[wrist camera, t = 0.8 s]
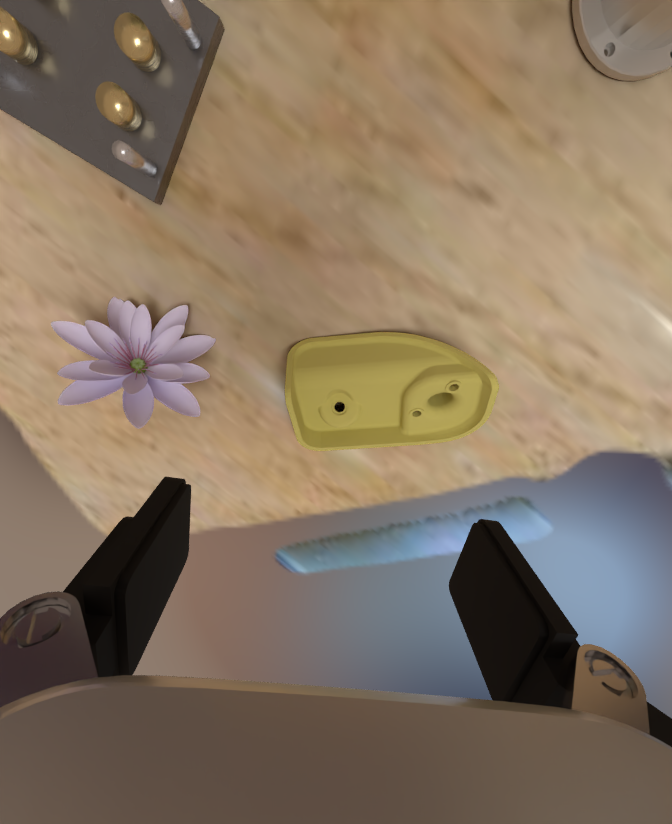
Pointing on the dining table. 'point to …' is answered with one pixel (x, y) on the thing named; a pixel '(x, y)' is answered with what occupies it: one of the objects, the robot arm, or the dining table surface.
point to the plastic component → (384, 391)
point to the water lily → (135, 360)
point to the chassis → (109, 79)
